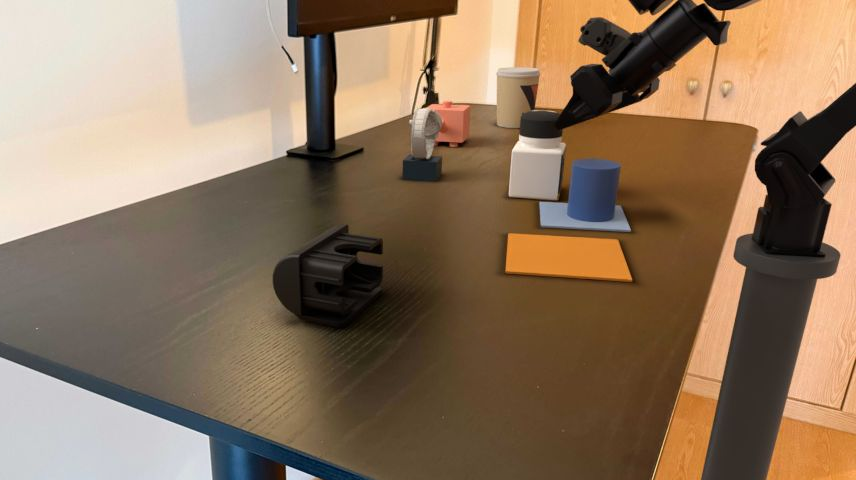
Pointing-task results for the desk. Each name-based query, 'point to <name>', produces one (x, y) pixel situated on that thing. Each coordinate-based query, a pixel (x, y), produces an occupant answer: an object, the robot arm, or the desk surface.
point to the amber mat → (566, 257)
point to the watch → (423, 147)
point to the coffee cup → (515, 94)
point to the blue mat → (558, 218)
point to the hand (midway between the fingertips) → (569, 122)
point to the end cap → (329, 278)
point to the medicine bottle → (537, 158)
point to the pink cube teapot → (452, 122)
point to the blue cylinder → (593, 190)
